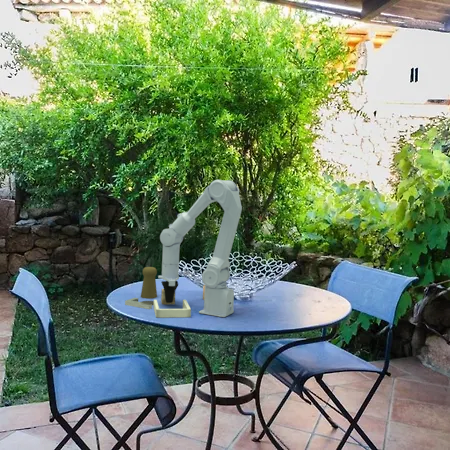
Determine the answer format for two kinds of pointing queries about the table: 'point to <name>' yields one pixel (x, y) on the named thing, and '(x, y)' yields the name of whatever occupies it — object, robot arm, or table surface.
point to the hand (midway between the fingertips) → (169, 302)
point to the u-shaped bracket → (172, 311)
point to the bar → (138, 303)
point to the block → (164, 298)
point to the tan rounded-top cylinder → (203, 291)
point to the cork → (149, 283)
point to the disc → (148, 302)
